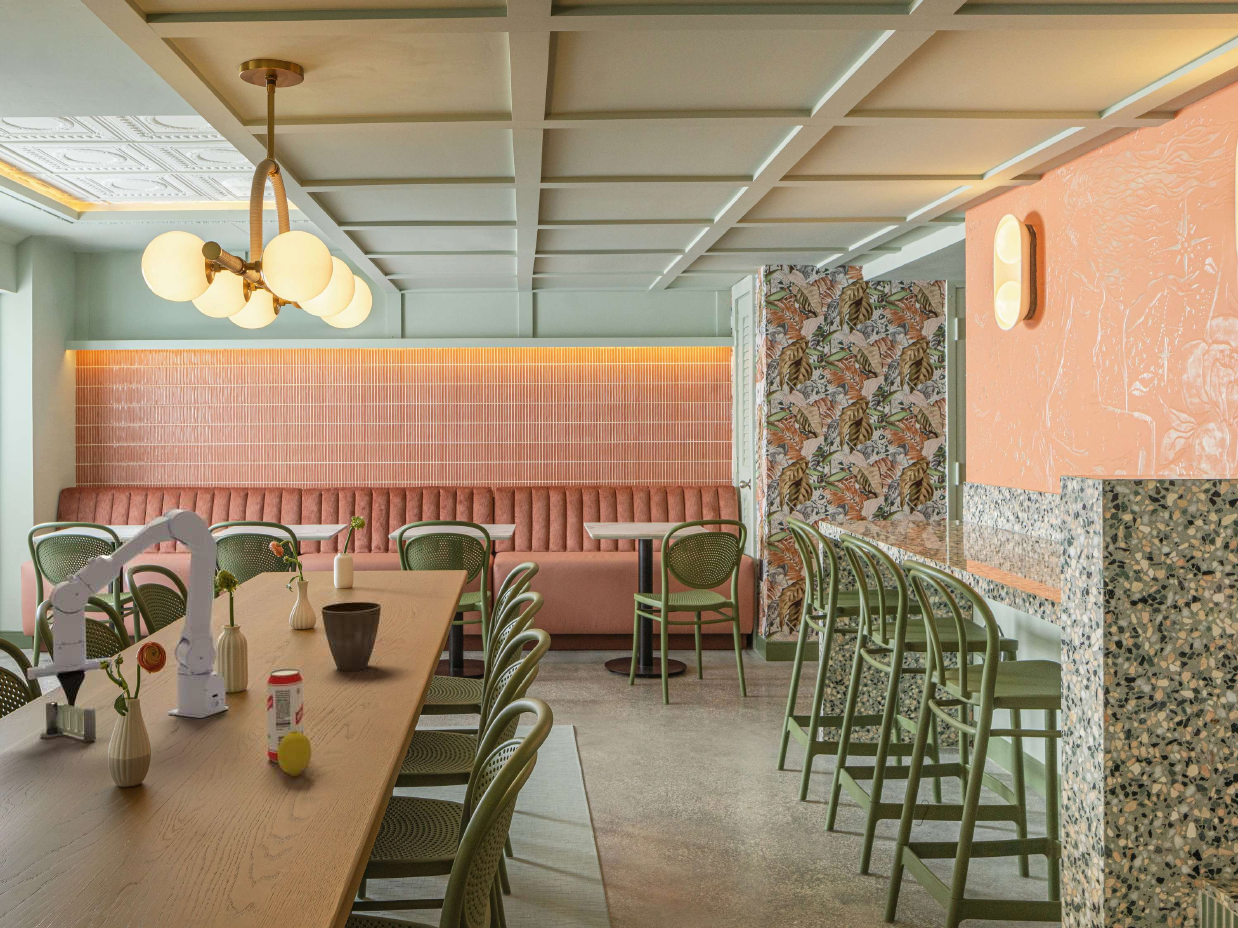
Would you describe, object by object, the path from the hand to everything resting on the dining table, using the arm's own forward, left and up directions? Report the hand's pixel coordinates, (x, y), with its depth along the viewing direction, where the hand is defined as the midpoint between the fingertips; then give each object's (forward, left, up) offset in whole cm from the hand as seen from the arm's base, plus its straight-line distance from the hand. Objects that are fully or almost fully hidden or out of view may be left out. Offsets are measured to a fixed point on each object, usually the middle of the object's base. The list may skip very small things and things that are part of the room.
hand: (71, 708), depth 191 cm
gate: (-3, +2, -4) cm, 6 cm away
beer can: (-52, -3, -5) cm, 52 cm away
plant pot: (-18, -67, -5) cm, 69 cm away
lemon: (-60, +4, -5) cm, 60 cm away
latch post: (+2, +3, -5) cm, 6 cm away
